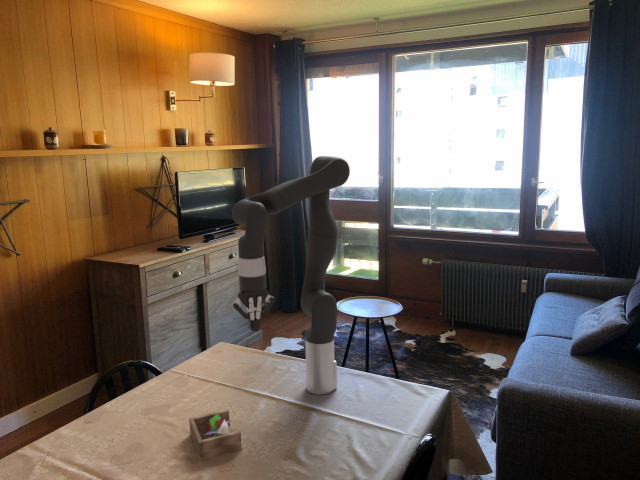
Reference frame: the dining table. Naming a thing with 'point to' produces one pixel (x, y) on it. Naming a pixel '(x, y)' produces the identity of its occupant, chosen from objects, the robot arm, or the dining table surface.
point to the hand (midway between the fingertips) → (254, 330)
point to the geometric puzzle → (217, 426)
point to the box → (214, 444)
